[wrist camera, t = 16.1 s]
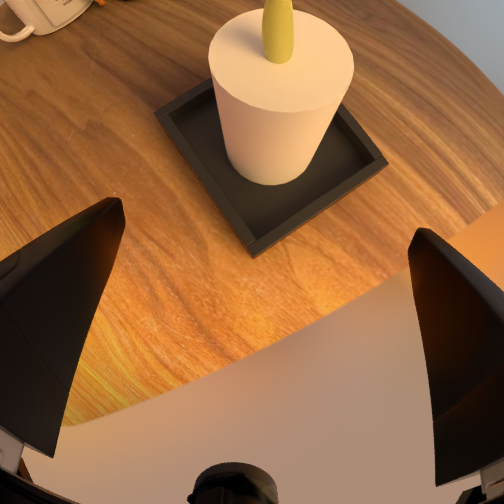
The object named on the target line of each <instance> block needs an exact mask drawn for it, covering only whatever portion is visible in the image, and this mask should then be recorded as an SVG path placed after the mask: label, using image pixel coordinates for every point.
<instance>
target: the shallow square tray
mask: <svg viewBox="0 0 504 504" xmlns="http://www.w3.org/2000/svg"><path fill="white" fill-rule="evenodd" d="M154 114H155V116H156V117H157V119H158V121H159V122H160V124H161V126H162V127H163V129H164V130H165V132H166V133H167V135H168V136H169V138H170V139H171V141H172V142H173V144H174V145H175V146H176V148H177V149H178V151H179V152H180V154H181V155H182V157H183V158H184V160H185V161H186V163H187V164H188V165H189V167H190V168H191V170H192V171H193V173H194V174H195V176H196V177H197V179H198V180H199V182H200V183H201V184H202V186H203V187H204V189H205V190H206V192H207V193H208V195H209V196H210V198H211V199H212V201H213V202H214V203H215V205H216V206H217V208H218V209H219V211H220V212H221V214H222V215H223V217H224V218H225V219H226V221H227V222H228V224H229V225H230V227H231V228H232V230H233V231H234V233H235V234H236V235H237V237H238V238H239V240H240V241H241V243H242V244H243V246H244V247H245V249H246V250H247V251H248V253H249V254H250V256H251V257H252V259H255V258H256V257H258V256H259V255H261V254H262V253H264V252H265V251H267V250H268V249H269V248H271V247H272V246H274V245H275V244H277V243H278V242H280V241H281V240H283V239H284V238H285V237H287V236H288V235H290V234H291V233H293V232H294V231H296V230H297V229H298V228H300V227H301V226H303V225H304V224H306V223H307V222H309V221H310V220H311V219H313V218H314V217H316V216H317V215H319V214H320V213H322V212H323V211H324V210H326V209H327V208H329V207H330V206H332V205H333V204H335V203H336V202H337V201H339V200H340V199H342V198H343V197H345V196H346V195H348V194H349V193H350V192H352V191H353V190H355V189H356V188H358V187H359V186H360V185H362V184H363V183H365V182H366V181H368V180H369V179H371V178H372V177H373V176H375V175H376V174H378V173H379V172H380V171H381V170H382V169H384V168H385V167H386V166H387V165H388V164H389V163H388V162H387V160H386V159H385V158H384V156H383V155H382V153H381V152H380V150H379V149H378V148H377V146H376V145H375V144H374V143H373V141H372V140H371V139H370V137H369V136H368V135H367V133H366V132H365V131H364V130H363V128H362V127H361V126H360V125H359V123H358V122H357V121H356V120H355V119H354V117H353V116H352V115H351V114H350V112H349V111H348V110H347V109H346V108H345V107H344V105H343V104H342V103H340V104H339V106H338V108H337V110H336V112H335V114H334V116H333V118H332V120H331V122H330V124H329V126H328V128H327V130H326V132H325V134H324V136H323V138H322V140H321V142H320V144H319V146H318V148H317V150H316V152H315V154H314V155H313V157H312V159H311V161H310V163H309V165H308V166H307V168H306V169H305V171H304V172H303V173H301V174H300V175H299V176H298V177H297V178H295V179H293V180H291V181H289V182H287V183H284V184H278V185H262V184H259V183H255V182H252V181H250V180H248V179H246V178H245V177H243V176H241V175H240V174H239V173H238V172H237V171H236V170H235V169H234V168H233V166H232V164H231V162H230V160H229V159H228V156H227V151H226V147H225V141H224V136H223V131H222V126H221V121H220V116H219V111H218V106H217V101H216V96H215V90H214V85H213V80H212V78H210V79H208V80H207V81H205V82H203V83H201V84H200V85H198V86H196V87H194V88H193V89H191V90H189V91H188V92H186V93H184V94H183V95H181V96H179V97H178V98H176V99H175V100H173V101H171V102H170V103H168V104H167V105H165V106H163V107H162V108H160V109H159V110H157V111H156V112H154Z"/></svg>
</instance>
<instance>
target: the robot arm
mask: <svg viewBox="0 0 504 504" xmlns="http://www.w3.org/2000/svg"><path fill="white" fill-rule="evenodd" d="M124 229H125V216H124V210H123V205H122V201H121V199H120V198H117V197H107V198H105V199H103V200H101V201H100V202H98V203H96V204H94V205H92V206H90V207H89V208H87V209H85V210H83V211H81V212H80V213H78V214H76V215H74V216H73V217H71V218H69V219H67V220H66V221H64V222H62V223H61V224H59V225H57V226H56V227H54V228H52V229H51V230H49V231H47V232H46V233H44V234H42V235H41V236H39V237H38V238H36V239H34V240H33V241H31V242H30V243H28V244H26V245H25V246H23V247H22V248H21V249H19V250H17V251H16V252H14V253H13V254H11V255H10V256H8V257H6V258H5V259H3V260H2V261H0V504H79V503H77V502H74V501H72V500H69V499H67V498H65V497H62V496H60V495H57V494H55V493H53V492H50V491H49V490H46V489H44V488H42V487H40V486H38V485H36V484H34V483H33V481H32V479H31V477H30V474H29V472H28V470H27V468H26V466H25V463H24V461H23V459H22V458H21V455H22V451H23V448H24V446H26V447H28V448H30V449H32V450H35V451H37V452H39V453H41V454H44V455H46V456H48V457H50V458H53V457H54V454H55V449H56V444H57V440H58V435H59V431H60V427H61V423H62V419H63V415H64V411H65V407H66V403H67V400H68V396H69V393H68V392H70V388H71V385H72V381H73V378H74V374H75V371H76V368H77V365H78V361H79V358H80V355H81V352H82V349H83V346H84V343H85V340H86V337H87V334H88V331H89V328H90V326H91V323H92V320H93V317H94V314H95V312H96V309H97V306H98V304H99V301H100V298H101V296H102V293H103V291H104V288H105V286H106V283H107V281H108V278H109V276H110V273H111V270H112V268H113V265H114V261H115V258H116V255H117V251H118V248H119V245H120V242H121V238H122V235H123V232H124ZM408 260H409V267H410V274H411V281H412V288H413V296H414V300H415V306H416V311H417V316H418V320H419V325H420V331H421V336H422V342H423V348H424V353H425V360H426V367H427V373H428V380H429V388H430V397H431V407H432V418H433V433H434V449H435V484H436V487H438V486H442V485H446V484H449V483H453V482H456V481H459V480H463V479H466V478H469V477H472V476H475V475H478V474H480V479H481V485H479V486H477V487H474V488H471V489H469V490H466V491H463V492H462V494H461V496H460V497H459V499H458V501H457V502H456V504H504V292H503V291H502V290H501V289H500V288H499V287H498V286H497V285H496V284H495V283H494V282H492V281H491V280H490V279H489V278H488V277H487V276H486V275H485V274H484V273H483V272H481V271H480V270H479V269H478V268H477V267H476V266H475V265H473V264H472V263H471V262H470V261H469V260H468V259H466V258H465V257H464V256H463V255H462V254H461V253H459V252H458V251H457V250H456V249H455V248H453V247H452V246H451V245H450V244H448V243H447V242H446V241H445V240H444V239H442V238H441V237H440V236H439V235H437V234H436V233H435V232H434V231H432V230H431V229H428V228H418V229H417V230H416V232H415V234H414V237H413V239H412V241H411V244H410V246H409V248H408ZM240 477H243V479H240ZM192 499H194V500H192ZM187 501H188V503H190V504H276V503H275V502H274V501H273V500H272V499H271V498H269V497H268V496H267V495H266V494H265V493H264V492H263V491H262V490H261V489H260V488H259V487H258V486H257V485H256V484H255V483H254V482H253V481H252V480H251V479H250V478H249V477H248V476H247V475H246V474H245V473H238V474H236V475H234V476H232V477H229V478H227V479H225V480H223V481H218V482H215V483H213V484H211V485H209V486H206V487H204V488H202V489H199V490H198V491H197V492H195V493H192V494H190V495H188V497H187Z"/></svg>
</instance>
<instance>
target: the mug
mask: <svg viewBox="0 0 504 504" xmlns="http://www.w3.org/2000/svg"><path fill="white" fill-rule="evenodd" d="M4 1H5V3H6V4H7V5H8V6H9V7H10V8H11V10H12V11H13V12H14V13H15V14H16V15H17V17H18V18H19V19H20V20H21V21H22V22H23V24H24V25H25V26H26V27H25V28H24V29H23V30H22V31H20V32H19V33H17V34H15V35H11V36H8V35H5V34H3V33H2V32H1V31H0V40H1V41H7V42H17V41H20V40H23V39H24V38H26V37H28V36H29V35H30V34H31V33H32V34H35V35H46V34H49V33H52V32H54V31H57V30H59V29H61V28H62V27H64V26H66V25H67V24H69V23H70V22H72V21H73V20H75V19H76V18H77V17H78V16H80V15H81V14H82V13H83V12H84V11H85V10H86V9H87V8H88V7H89V6H90V5H91V4H92V2H93V0H4Z"/></svg>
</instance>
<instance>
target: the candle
mask: <svg viewBox="0 0 504 504" xmlns="http://www.w3.org/2000/svg"><path fill="white" fill-rule="evenodd" d="M208 60H209V65H210V70H211V75H212V80H213V85H214V90H215V96H216V101H217V106H218V111H219V116H220V121H221V126H222V131H223V136H224V141H225V147H226V151H227V156H228V159H229V160H230V162H231V164H232V166H233V168H234V169H235V170H236V171H237V172H238V173H239V174H240V175H241V176H243V177H245V178H246V179H248V180H250V181H252V182H255V183H259V184H262V185H278V184H284V183H287V182H289V181H291V180H293V179H295V178H297V177H298V176H299V175H300V174H301V173H303V172H304V171H305V169H306V168H307V166H308V165H309V163H310V161H311V159H312V157H313V155H314V154H315V152H316V150H317V148H318V146H319V144H320V142H321V140H322V138H323V136H324V134H325V132H326V130H327V128H328V126H329V124H330V122H331V120H332V118H333V116H334V114H335V112H336V110H337V108H338V106H339V104H340V103H341V101H342V99H343V97H344V95H345V93H346V91H347V89H348V87H349V85H350V83H351V80H352V76H353V71H354V63H353V56H352V53H351V51H350V49H349V47H348V45H347V43H346V41H345V40H344V39H343V37H342V36H341V35H340V34H339V33H338V32H337V31H336V30H335V29H334V28H333V27H331V26H330V25H329V24H327V23H326V22H324V21H323V20H321V19H319V18H317V17H315V16H312V15H310V14H308V13H305V12H301V11H297V10H293V8H292V1H291V0H266V3H265V6H264V9H257V10H253V11H250V12H247V13H243V14H241V15H239V16H237V17H235V18H233V19H232V20H230V21H228V22H227V23H226V24H225V25H224V26H223V27H222V28H220V29H219V30H218V31H217V33H216V34H215V36H214V38H213V40H212V42H211V44H210V48H209V55H208Z"/></svg>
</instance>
